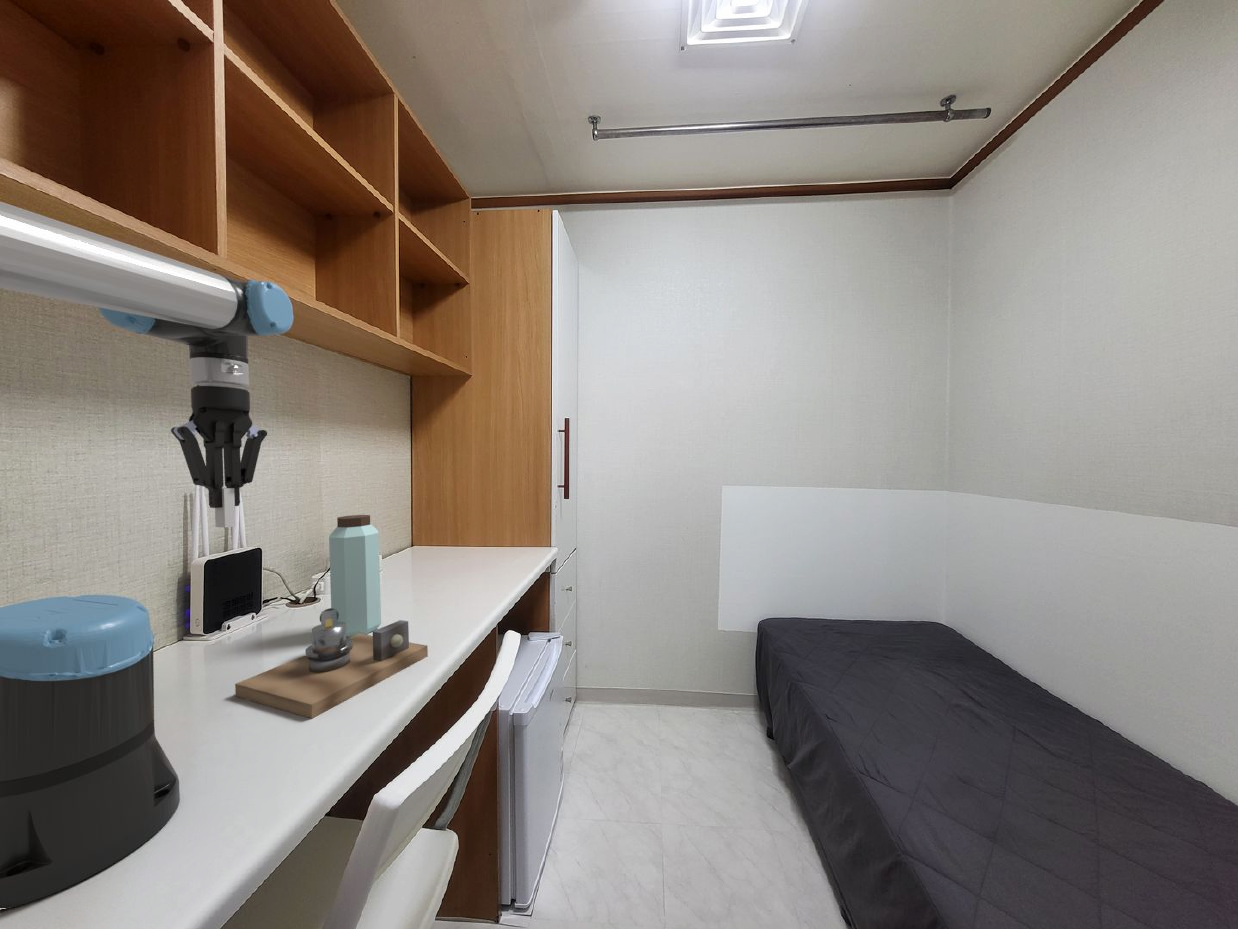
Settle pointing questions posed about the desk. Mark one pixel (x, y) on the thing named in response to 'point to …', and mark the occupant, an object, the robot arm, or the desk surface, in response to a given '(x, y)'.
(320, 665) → the rotary lever board
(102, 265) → the robot arm
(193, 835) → the desk surface
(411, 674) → the desk surface
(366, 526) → the water bottle
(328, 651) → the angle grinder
